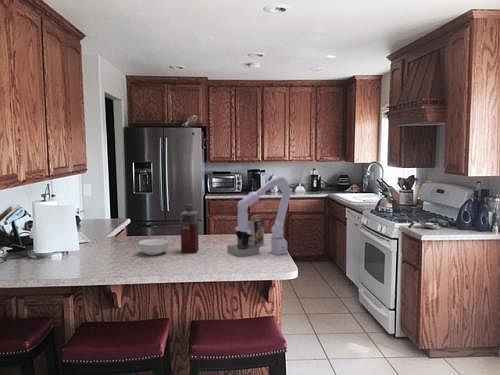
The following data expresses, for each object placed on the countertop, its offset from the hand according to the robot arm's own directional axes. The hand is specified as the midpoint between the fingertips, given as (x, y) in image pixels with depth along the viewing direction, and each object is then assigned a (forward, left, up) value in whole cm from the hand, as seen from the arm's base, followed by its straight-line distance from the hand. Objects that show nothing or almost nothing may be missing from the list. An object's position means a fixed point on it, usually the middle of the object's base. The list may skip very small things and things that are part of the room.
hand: (243, 244), depth 244 cm
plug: (0, 0, -2) cm, 2 cm away
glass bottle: (+21, +24, -5) cm, 32 cm away
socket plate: (0, 0, -5) cm, 5 cm away
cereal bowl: (+29, +43, -5) cm, 52 cm away
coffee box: (+13, -17, -5) cm, 22 cm away
